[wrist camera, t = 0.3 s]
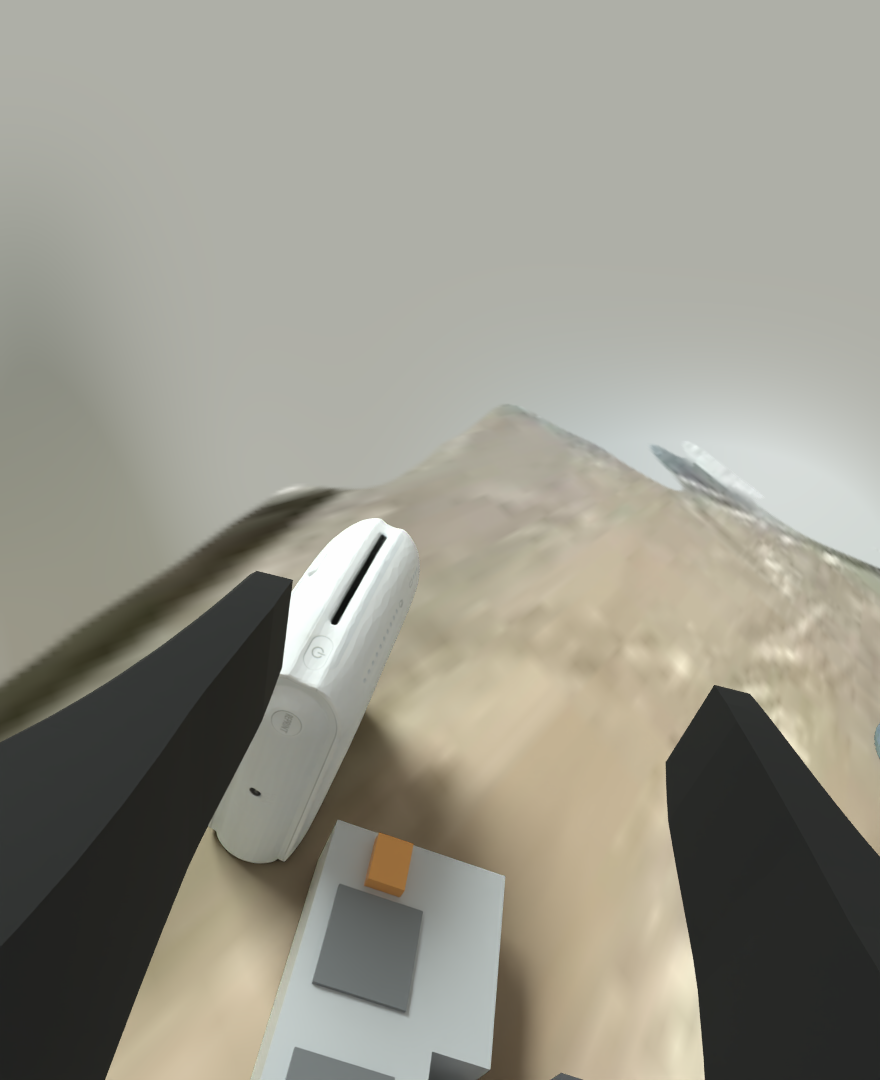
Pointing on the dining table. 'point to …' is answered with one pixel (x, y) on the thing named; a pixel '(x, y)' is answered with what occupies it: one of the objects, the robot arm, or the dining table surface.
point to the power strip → (388, 967)
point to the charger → (565, 1077)
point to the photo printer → (319, 688)
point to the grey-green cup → (877, 740)
